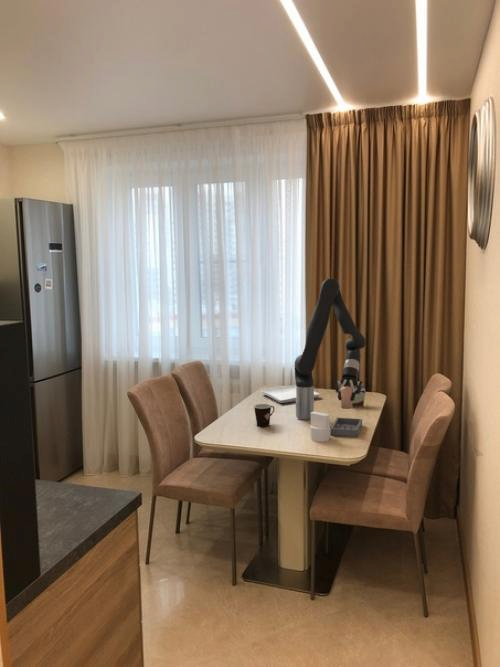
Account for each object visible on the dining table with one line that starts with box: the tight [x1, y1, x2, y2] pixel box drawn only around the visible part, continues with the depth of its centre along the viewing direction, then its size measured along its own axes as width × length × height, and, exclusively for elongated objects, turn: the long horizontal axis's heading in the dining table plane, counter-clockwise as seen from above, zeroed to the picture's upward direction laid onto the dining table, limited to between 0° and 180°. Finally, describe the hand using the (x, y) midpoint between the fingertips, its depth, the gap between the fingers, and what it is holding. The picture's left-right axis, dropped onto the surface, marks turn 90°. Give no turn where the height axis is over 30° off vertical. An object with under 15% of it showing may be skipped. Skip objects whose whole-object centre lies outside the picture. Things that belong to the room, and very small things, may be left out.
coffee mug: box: [253, 403, 275, 428], centre depth 279 cm, size 12×9×10 cm
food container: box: [352, 386, 367, 408], centre depth 309 cm, size 12×6×10 cm, turn 84°
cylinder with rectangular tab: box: [309, 411, 331, 443], centre depth 256 cm, size 9×9×12 cm
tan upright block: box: [340, 386, 354, 410], centre depth 264 cm, size 5×5×10 cm
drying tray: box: [330, 416, 363, 438], centre depth 266 cm, size 18×13×5 cm
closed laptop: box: [260, 384, 321, 404], centre depth 333 cm, size 27×27×4 cm
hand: (345, 399), depth 263 cm, fingers closed on tan upright block, 5 cm apart
